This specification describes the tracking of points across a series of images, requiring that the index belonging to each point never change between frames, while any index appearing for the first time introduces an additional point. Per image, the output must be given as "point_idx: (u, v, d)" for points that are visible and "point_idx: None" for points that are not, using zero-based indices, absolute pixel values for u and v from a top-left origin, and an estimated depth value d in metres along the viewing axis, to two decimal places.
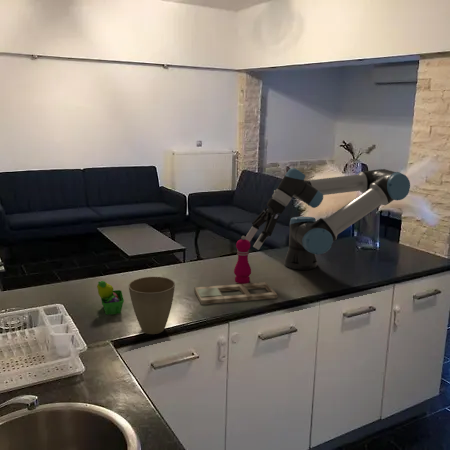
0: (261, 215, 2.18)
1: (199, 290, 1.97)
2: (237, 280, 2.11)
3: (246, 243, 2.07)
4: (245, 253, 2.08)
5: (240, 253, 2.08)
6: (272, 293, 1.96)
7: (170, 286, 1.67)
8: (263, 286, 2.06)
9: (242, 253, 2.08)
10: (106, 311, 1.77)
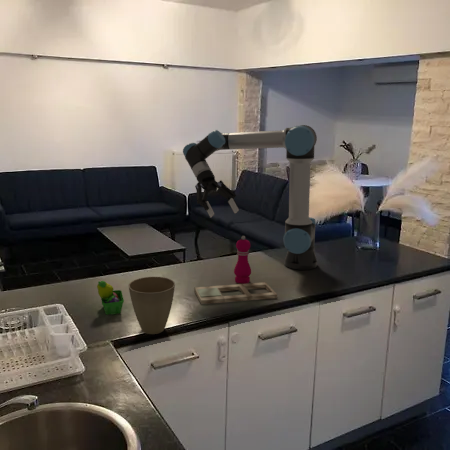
0: (222, 189, 2.23)
1: (199, 290, 1.97)
2: (237, 280, 2.11)
3: (246, 243, 2.07)
4: (245, 253, 2.08)
5: (240, 253, 2.08)
6: (272, 293, 1.96)
7: (170, 286, 1.67)
8: (263, 286, 2.06)
9: (242, 253, 2.08)
10: (106, 311, 1.77)
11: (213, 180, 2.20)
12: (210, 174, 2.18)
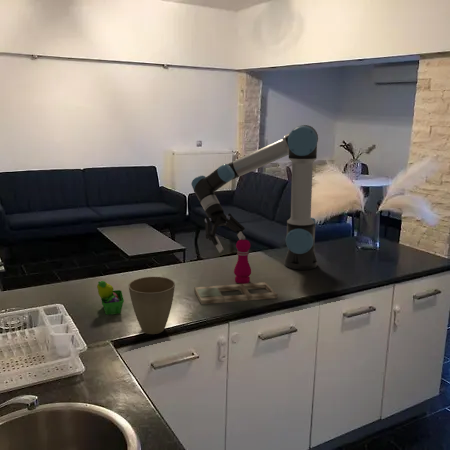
0: (231, 222, 2.22)
1: (199, 290, 1.97)
2: (237, 280, 2.11)
3: (246, 243, 2.07)
4: (245, 253, 2.08)
5: (240, 253, 2.08)
6: (272, 293, 1.96)
7: (170, 286, 1.67)
8: (263, 286, 2.06)
9: (242, 253, 2.08)
10: (106, 311, 1.77)
11: (222, 213, 2.20)
12: (219, 208, 2.17)
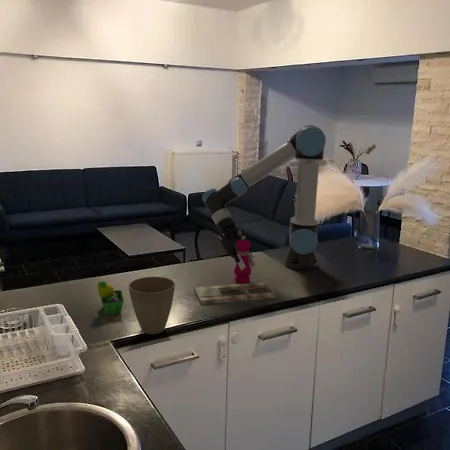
0: None
1: (199, 290, 1.97)
2: (237, 280, 2.11)
3: (246, 243, 2.07)
4: (245, 253, 2.08)
5: (240, 253, 2.08)
6: (272, 293, 1.96)
7: (170, 286, 1.67)
8: (263, 286, 2.06)
9: (242, 253, 2.08)
10: (106, 311, 1.77)
11: (234, 227, 2.16)
12: (231, 222, 2.14)
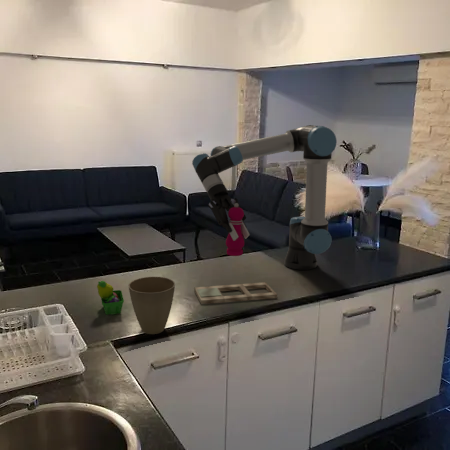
0: None
1: (199, 290, 1.97)
2: (229, 252, 1.92)
3: (239, 211, 1.88)
4: (238, 222, 1.89)
5: (232, 222, 1.89)
6: (272, 293, 1.96)
7: (170, 286, 1.67)
8: (263, 286, 2.06)
9: (235, 222, 1.89)
10: (106, 311, 1.77)
11: (226, 195, 1.98)
12: (223, 189, 1.95)
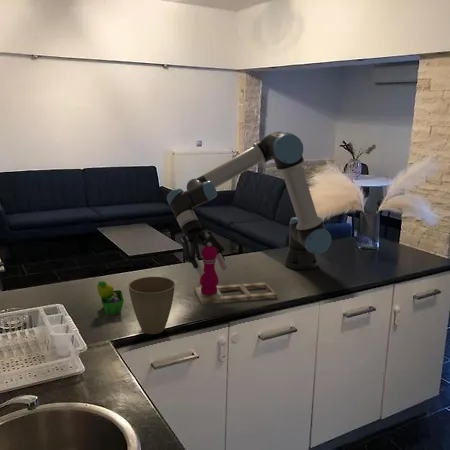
0: (210, 241, 2.00)
1: (199, 290, 1.97)
2: (203, 291, 1.93)
3: (212, 250, 1.90)
4: (211, 261, 1.91)
5: (206, 261, 1.91)
6: (272, 293, 1.96)
7: (170, 286, 1.67)
8: (263, 286, 2.06)
9: (208, 261, 1.90)
10: (106, 311, 1.77)
11: (200, 231, 1.98)
12: (196, 225, 1.95)
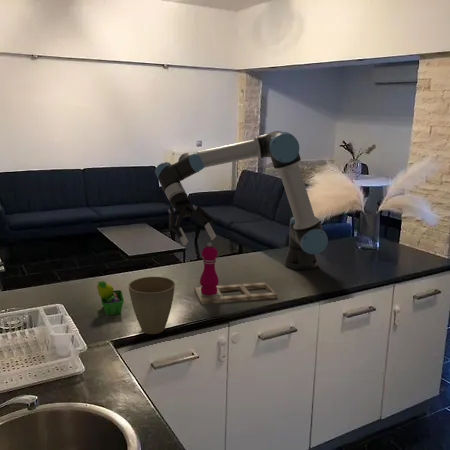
0: (198, 213, 2.03)
1: (199, 290, 1.97)
2: (203, 291, 1.93)
3: (212, 250, 1.89)
4: (211, 261, 1.90)
5: (206, 261, 1.90)
6: (272, 293, 1.96)
7: (170, 286, 1.67)
8: (263, 286, 2.06)
9: (208, 261, 1.90)
10: (106, 311, 1.77)
11: (188, 203, 2.01)
12: (184, 197, 1.98)
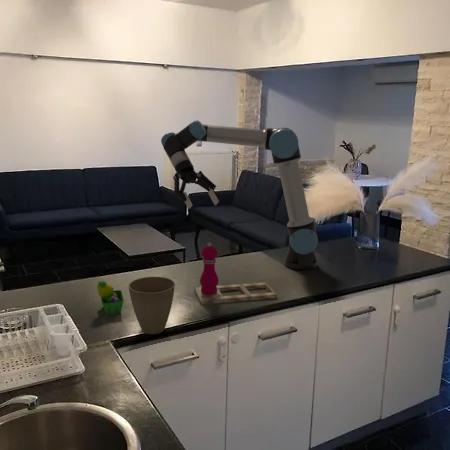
0: None
1: (199, 290, 1.97)
2: (203, 291, 1.93)
3: (212, 250, 1.89)
4: (211, 261, 1.90)
5: (206, 261, 1.90)
6: (272, 293, 1.96)
7: (170, 286, 1.67)
8: (263, 286, 2.06)
9: (208, 261, 1.90)
10: (106, 311, 1.77)
11: (192, 171, 2.12)
12: (189, 164, 2.10)
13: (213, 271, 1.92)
